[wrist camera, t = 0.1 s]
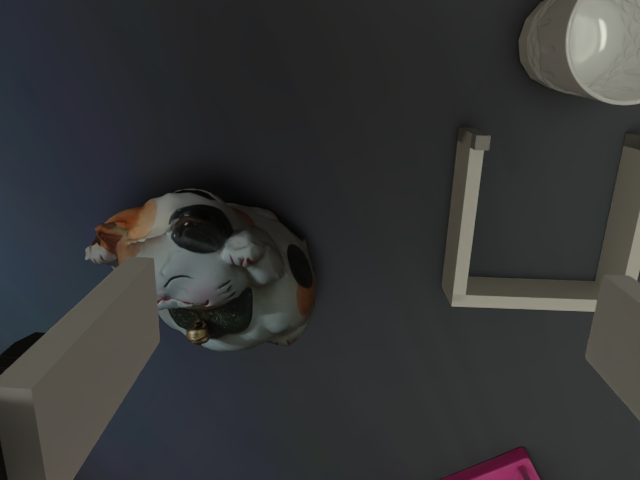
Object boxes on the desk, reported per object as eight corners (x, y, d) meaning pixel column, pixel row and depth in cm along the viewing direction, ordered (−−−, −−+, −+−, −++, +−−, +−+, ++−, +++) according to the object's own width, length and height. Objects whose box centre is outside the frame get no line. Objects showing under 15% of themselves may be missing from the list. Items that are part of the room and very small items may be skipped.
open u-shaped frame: (459, 127, 41) (476, 135, 36) (638, 133, 41) (680, 142, 36) (441, 286, 45) (454, 313, 40) (604, 292, 45) (637, 319, 40)
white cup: (636, 51, 39) (733, 46, 30) (543, 117, 41) (607, 132, 31) (584, -42, 37) (670, -79, 28) (489, 31, 39) (539, 19, 30)
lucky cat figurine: (161, 337, 47) (36, 351, 34) (175, 205, 48) (60, 170, 35) (319, 358, 43) (244, 383, 30) (331, 212, 44) (265, 174, 31)
